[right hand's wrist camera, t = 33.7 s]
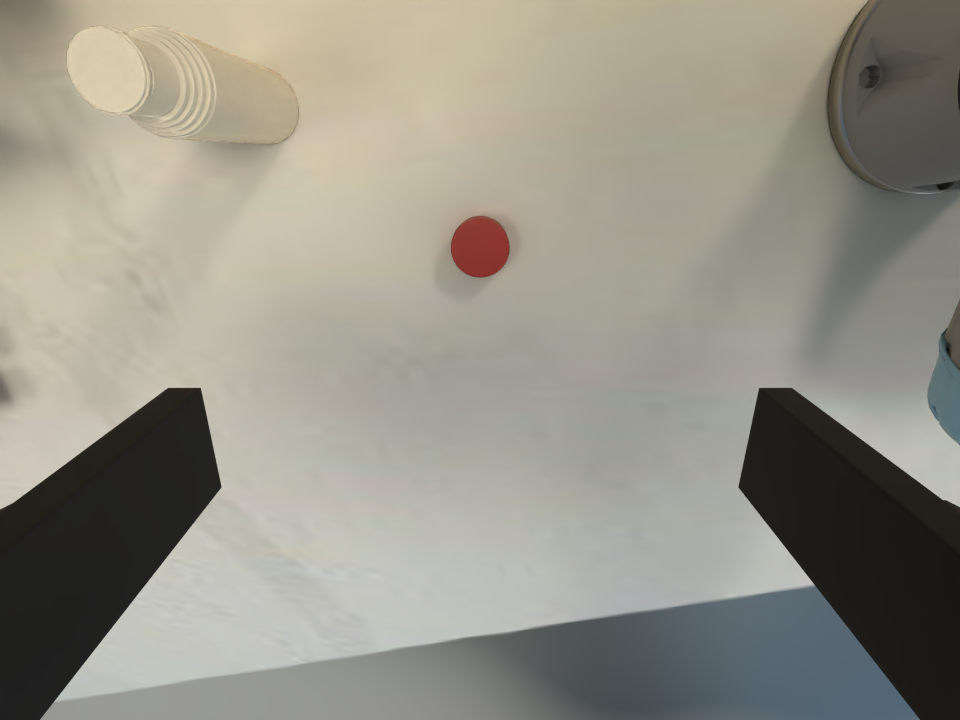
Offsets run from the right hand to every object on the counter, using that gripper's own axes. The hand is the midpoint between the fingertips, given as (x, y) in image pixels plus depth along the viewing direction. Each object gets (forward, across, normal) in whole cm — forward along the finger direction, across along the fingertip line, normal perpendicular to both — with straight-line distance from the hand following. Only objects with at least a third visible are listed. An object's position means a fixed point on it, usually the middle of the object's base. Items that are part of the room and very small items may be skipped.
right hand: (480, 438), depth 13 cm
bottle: (+30, +15, -10) cm, 35 cm away
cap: (+28, 0, 0) cm, 28 cm away
